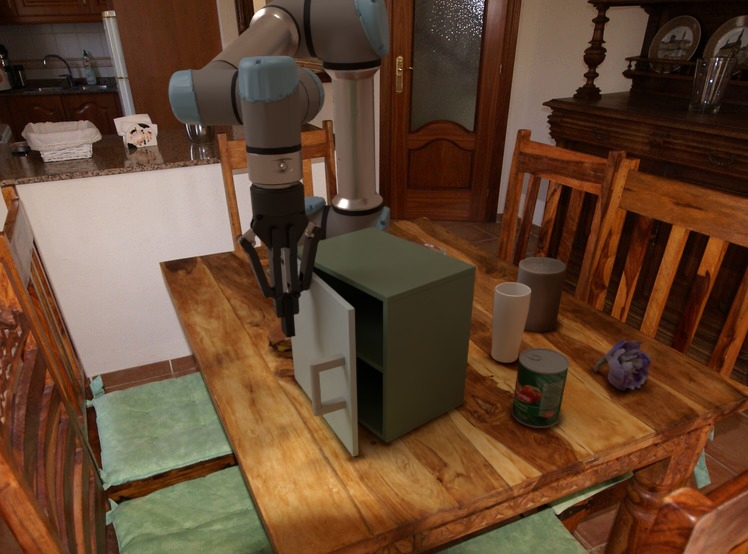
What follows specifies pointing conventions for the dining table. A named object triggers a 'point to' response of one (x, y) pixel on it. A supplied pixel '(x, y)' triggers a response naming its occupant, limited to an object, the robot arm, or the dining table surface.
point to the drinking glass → (509, 320)
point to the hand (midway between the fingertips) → (288, 333)
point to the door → (327, 358)
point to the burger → (280, 341)
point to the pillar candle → (542, 291)
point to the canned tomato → (539, 387)
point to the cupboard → (402, 325)
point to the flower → (626, 365)
